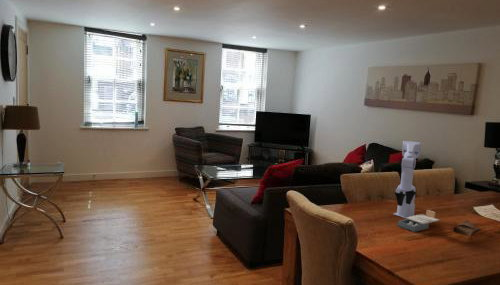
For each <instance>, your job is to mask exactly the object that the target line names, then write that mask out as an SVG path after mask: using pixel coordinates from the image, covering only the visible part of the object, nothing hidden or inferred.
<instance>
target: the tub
mask: <svg viewBox="0 0 500 285" xmlns="http://www.w3.org/2000/svg"><path fill="white" fill-rule="evenodd" d="M397 227H399V228H400V229H403V230H406V231H409V232H412V233H415V232H419V231H424V230H428V229H429V227H430V223H427V224H421V223H418V222H415V221H412V220H409V219H406V218H404V219H401V220H398V221H397Z"/></svg>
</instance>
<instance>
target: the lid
mask: <svg viewBox="0 0 500 285" xmlns="http://www.w3.org/2000/svg"><path fill="white" fill-rule="evenodd" d="M405 219H409V220H412V221H415V222H418V223H421V224H427V223H429V224H430V223H436V222H440V219H439V218H436V211H433V210H430V209H426V212H425V214H424V213H422V214H421V213H420V214H416V215H415V216H410V217H406V218H405Z"/></svg>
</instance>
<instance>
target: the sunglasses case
mask: <svg viewBox="0 0 500 285" xmlns="http://www.w3.org/2000/svg"><path fill="white" fill-rule="evenodd" d="M452 231H453V233H457V234H460V235H463V236H468V237H472V236H473V235H474V234H475V233H477V232H478V231H481V228H480V227H478V226H476V225H475V224H473V223H471V222H470V221H469V220H468V219H466V220H465V221H462V222H460V223H459V224H456V225H455V226H454V227H453V230H452Z"/></svg>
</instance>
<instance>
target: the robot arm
mask: <svg viewBox="0 0 500 285" xmlns="http://www.w3.org/2000/svg"><path fill="white" fill-rule="evenodd" d="M421 147H422V142H421V141H419V142H418V141H411V140H408V141H407V140H403V141H402V147H401V150H402V151H401V154H402V159H401V174H400V184H398V186H397V188H396V189H395V191H394V195H395V198H396V202H397V203H396V204H397V208H396V209H397V210H396V212H394V213H393V215H394V216H397V217H401V218H403V219H406V217H410V216H416V215H415V209H416V204H415V201H416V194H417V192H416V190H417V189H416V186H414V184H413V180H414V171H415V168H416V162H417V160H416V159H419V157H420V154H421V149H422V148H421Z"/></svg>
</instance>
